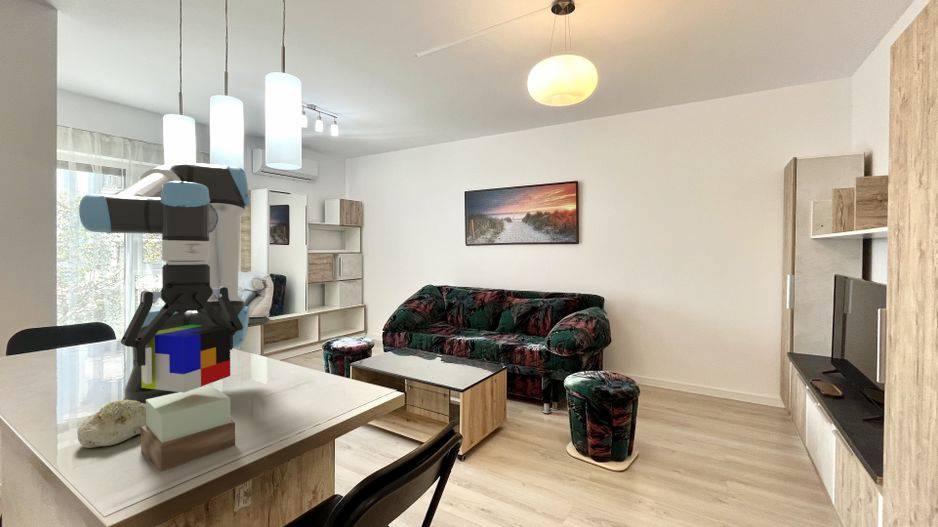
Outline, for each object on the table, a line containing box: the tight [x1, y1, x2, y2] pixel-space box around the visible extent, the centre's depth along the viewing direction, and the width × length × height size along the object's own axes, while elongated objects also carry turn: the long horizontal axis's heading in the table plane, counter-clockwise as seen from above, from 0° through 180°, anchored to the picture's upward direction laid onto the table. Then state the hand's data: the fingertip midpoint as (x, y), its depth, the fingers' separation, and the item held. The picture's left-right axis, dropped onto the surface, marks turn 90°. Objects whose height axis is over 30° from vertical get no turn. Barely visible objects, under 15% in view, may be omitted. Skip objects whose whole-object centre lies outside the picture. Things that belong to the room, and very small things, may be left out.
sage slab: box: [145, 384, 231, 443], centre depth 78 cm, size 11×11×5 cm
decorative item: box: [76, 399, 146, 449], centre depth 82 cm, size 12×9×10 cm
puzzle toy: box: [141, 325, 231, 393], centre depth 77 cm, size 10×10×10 cm
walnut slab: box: [140, 418, 236, 472], centre depth 78 cm, size 12×12×5 cm
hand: (187, 374), depth 77 cm, fingers closed on puzzle toy, 12 cm apart
